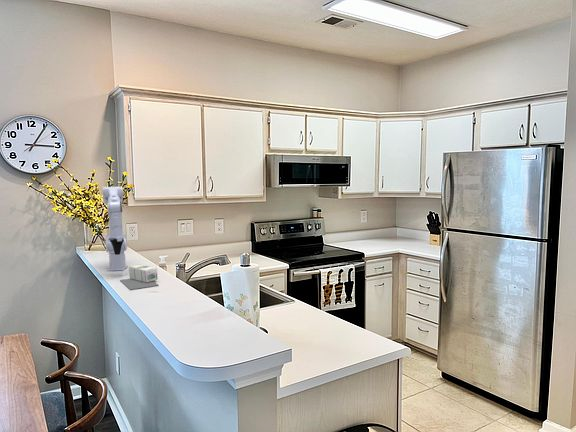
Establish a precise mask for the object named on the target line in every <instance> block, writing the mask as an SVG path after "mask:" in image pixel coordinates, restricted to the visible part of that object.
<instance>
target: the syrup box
mask: <svg viewBox="0 0 576 432" xmlns="http://www.w3.org/2000/svg"><path fill="white" fill-rule="evenodd" d="M128 273H129V274H128V275H129V279H130V278H131V279H135V280H139V281H143V282H150V281H154V282H155V281H157V280H158V279H159V278H158V268H157V267H153V266H149V265H143V264H136V265H131V266H128Z"/></svg>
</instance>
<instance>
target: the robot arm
mask: <svg viewBox="0 0 576 432" xmlns="http://www.w3.org/2000/svg"><path fill="white" fill-rule="evenodd" d="M102 197H103V198H102V199H103V204H105V205H106V206H107V207H106V208H107V214H108V222H109V223H108V224H109V234H108V235H107V236H106V238H105V251H106V253H108V255H109V256H108V258H109V268H108V269H107V272H111V271H113V272H114V271H116V272H117V271H124V270H126V269H127V268H129V265H126V254H125V251H127V247H128V246H127V240H126V234H124V232H123V230H124V228H123V201H124V188H123V186H122V185H121V186H103V187H102Z"/></svg>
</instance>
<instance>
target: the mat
mask: <svg viewBox="0 0 576 432" xmlns="http://www.w3.org/2000/svg"><path fill="white" fill-rule="evenodd" d="M119 281H120V282H121V283H122V285H124V286H125V287H126V288H127V289H128V290H129V291H134V290H142V289H147V288H155V287H159V286H160V285H159V284H158V283H157V282H155V280H154V281H150V282H143V281H139V280H135V279H131V278H130V277H129V278H125V279H123V278H122V279H119Z"/></svg>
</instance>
